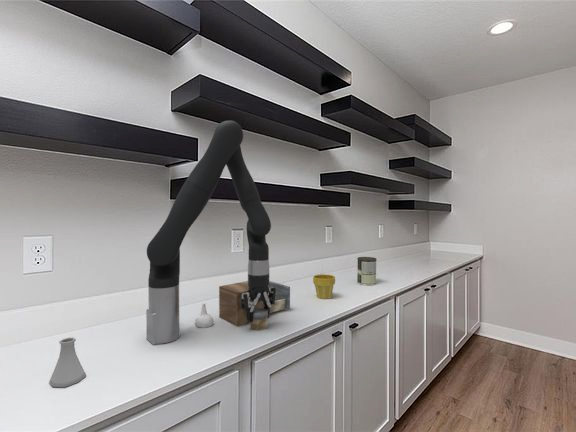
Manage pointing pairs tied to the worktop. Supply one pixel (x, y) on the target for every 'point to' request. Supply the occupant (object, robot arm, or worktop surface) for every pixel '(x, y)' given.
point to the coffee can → (366, 271)
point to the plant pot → (324, 285)
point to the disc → (260, 313)
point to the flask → (67, 365)
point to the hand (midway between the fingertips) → (258, 319)
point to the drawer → (280, 297)
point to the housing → (234, 303)
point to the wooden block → (259, 324)
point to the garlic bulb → (204, 318)
